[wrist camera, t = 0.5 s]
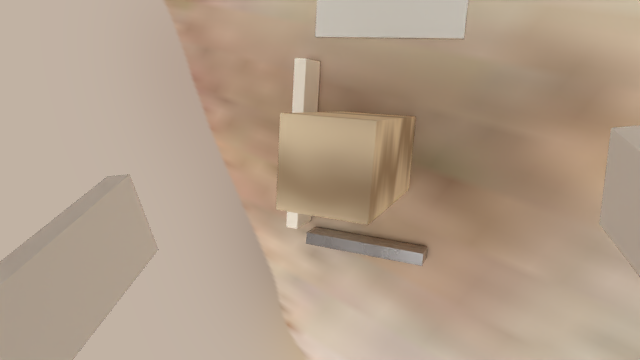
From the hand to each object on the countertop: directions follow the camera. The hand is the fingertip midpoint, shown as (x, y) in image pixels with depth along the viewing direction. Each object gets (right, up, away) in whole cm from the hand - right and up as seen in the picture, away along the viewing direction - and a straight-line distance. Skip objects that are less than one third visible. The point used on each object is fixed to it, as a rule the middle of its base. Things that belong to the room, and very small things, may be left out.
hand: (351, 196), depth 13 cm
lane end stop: (+3, -5, +26) cm, 27 cm away
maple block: (+4, +3, +25) cm, 25 cm away
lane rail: (-2, +4, +27) cm, 27 cm away
